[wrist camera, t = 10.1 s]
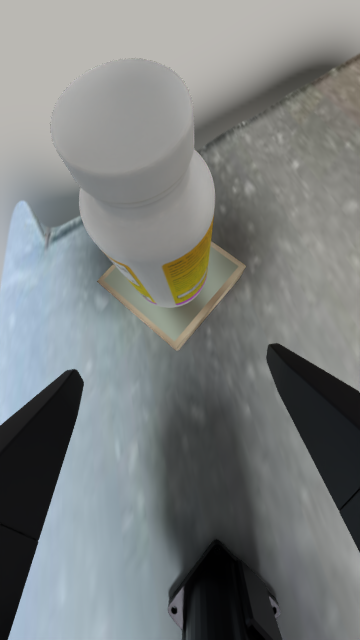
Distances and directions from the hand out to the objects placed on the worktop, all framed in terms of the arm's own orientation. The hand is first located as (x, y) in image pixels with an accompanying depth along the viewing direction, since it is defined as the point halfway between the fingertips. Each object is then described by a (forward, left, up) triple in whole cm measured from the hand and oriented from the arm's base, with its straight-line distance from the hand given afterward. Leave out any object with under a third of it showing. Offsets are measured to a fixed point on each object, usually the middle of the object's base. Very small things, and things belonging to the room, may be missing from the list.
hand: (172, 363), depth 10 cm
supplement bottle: (+5, +6, -8) cm, 12 cm away
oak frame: (+5, +6, -11) cm, 14 cm away
